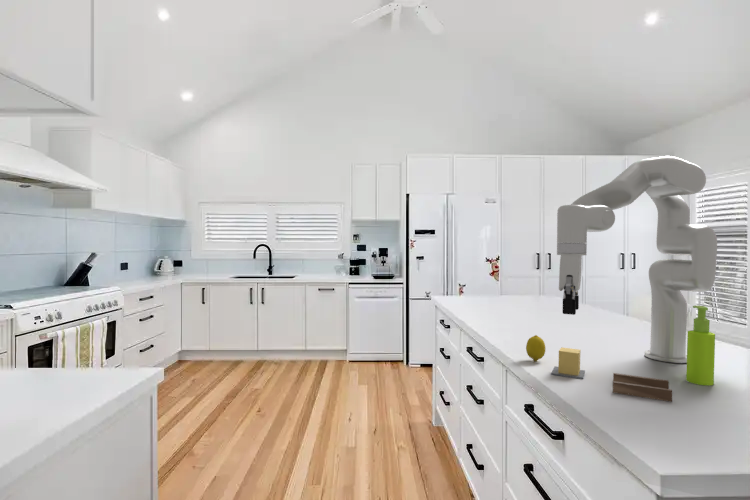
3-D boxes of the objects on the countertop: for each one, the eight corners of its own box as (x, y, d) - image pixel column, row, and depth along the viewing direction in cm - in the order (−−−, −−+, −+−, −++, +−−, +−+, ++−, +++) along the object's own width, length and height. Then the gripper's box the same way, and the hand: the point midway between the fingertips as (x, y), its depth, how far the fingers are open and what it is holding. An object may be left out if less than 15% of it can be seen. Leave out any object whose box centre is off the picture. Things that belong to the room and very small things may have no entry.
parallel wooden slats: (613, 382, 117) (613, 372, 117) (668, 390, 111) (668, 380, 111) (612, 392, 108) (613, 382, 108) (672, 401, 103) (672, 390, 103)
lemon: (546, 364, 133) (547, 337, 133) (527, 363, 134) (527, 336, 134) (543, 359, 139) (544, 333, 139) (524, 358, 140) (525, 332, 140)
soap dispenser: (707, 379, 121) (709, 305, 121) (717, 386, 115) (719, 308, 114) (681, 376, 123) (684, 303, 123) (690, 384, 116) (692, 307, 116)
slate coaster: (554, 367, 130) (554, 366, 130) (585, 371, 126) (585, 370, 126) (551, 374, 123) (551, 373, 123) (583, 379, 119) (583, 377, 119)
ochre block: (560, 368, 128) (561, 347, 128) (580, 371, 125) (580, 349, 125) (558, 372, 123) (558, 350, 123) (578, 375, 121) (578, 353, 121)
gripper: (560, 249, 133) (559, 306, 134) (553, 250, 118) (552, 315, 118) (588, 249, 130) (587, 308, 130) (584, 250, 114) (583, 317, 115)
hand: (570, 311), depth 124 cm, fingers open, 9 cm apart
